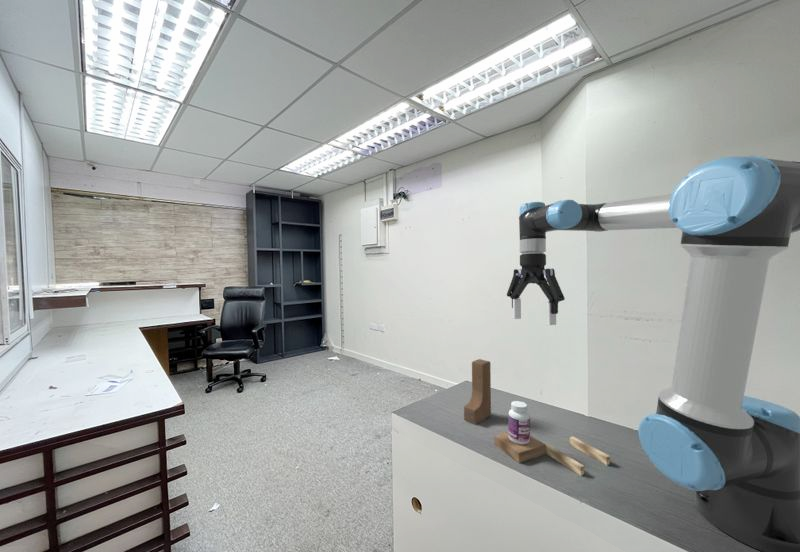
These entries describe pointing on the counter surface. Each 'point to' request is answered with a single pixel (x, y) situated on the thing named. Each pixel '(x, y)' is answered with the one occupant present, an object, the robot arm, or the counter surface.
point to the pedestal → (520, 447)
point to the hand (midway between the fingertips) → (533, 321)
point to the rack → (571, 462)
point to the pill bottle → (519, 423)
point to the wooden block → (479, 393)
